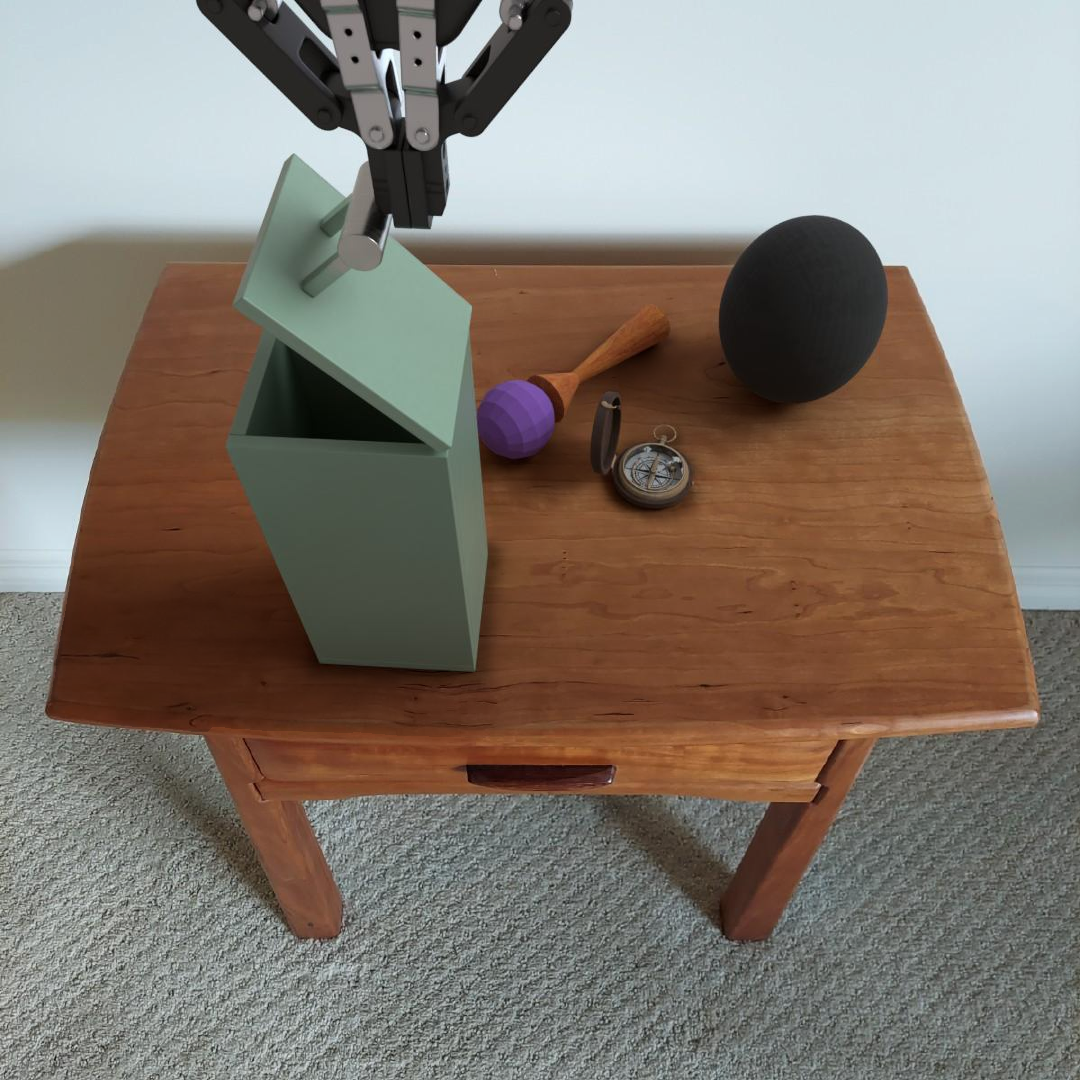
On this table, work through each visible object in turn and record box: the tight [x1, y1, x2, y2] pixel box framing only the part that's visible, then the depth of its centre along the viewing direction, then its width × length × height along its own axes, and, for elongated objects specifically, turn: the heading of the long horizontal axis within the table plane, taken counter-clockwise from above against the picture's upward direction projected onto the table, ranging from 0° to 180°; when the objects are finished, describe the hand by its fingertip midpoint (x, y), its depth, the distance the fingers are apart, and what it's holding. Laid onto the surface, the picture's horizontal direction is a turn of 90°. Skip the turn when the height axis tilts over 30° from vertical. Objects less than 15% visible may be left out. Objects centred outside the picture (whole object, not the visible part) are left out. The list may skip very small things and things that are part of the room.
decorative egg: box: [718, 214, 889, 405], centre depth 71 cm, size 12×12×15 cm
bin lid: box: [232, 153, 473, 453], centre depth 41 cm, size 11×10×5 cm
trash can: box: [225, 328, 489, 673], centre depth 55 cm, size 11×10×23 cm
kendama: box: [476, 303, 671, 460], centre depth 74 cm, size 6×6×20 cm
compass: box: [589, 391, 695, 509], centre depth 69 cm, size 8×8×7 cm
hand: (416, 216), depth 38 cm, fingers closed
